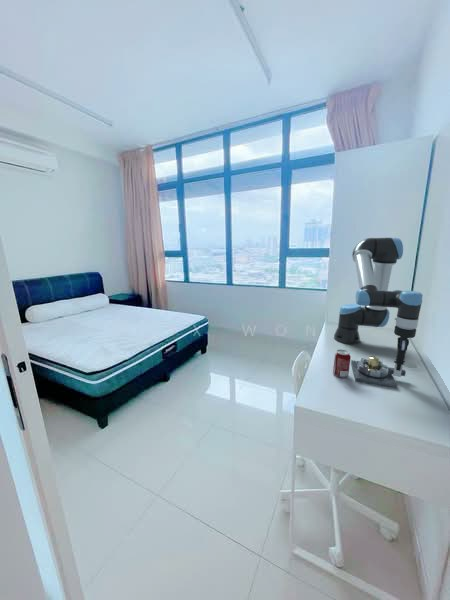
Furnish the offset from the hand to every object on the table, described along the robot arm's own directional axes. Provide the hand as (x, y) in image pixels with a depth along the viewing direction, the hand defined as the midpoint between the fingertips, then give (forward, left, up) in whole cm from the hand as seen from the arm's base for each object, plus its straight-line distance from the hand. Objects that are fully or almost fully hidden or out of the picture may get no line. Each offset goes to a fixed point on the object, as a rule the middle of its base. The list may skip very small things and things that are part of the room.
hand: (396, 375), depth 112 cm
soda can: (+3, -23, -3) cm, 24 cm away
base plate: (-2, -9, -3) cm, 10 cm away
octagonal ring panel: (-2, -6, -1) cm, 6 cm away
